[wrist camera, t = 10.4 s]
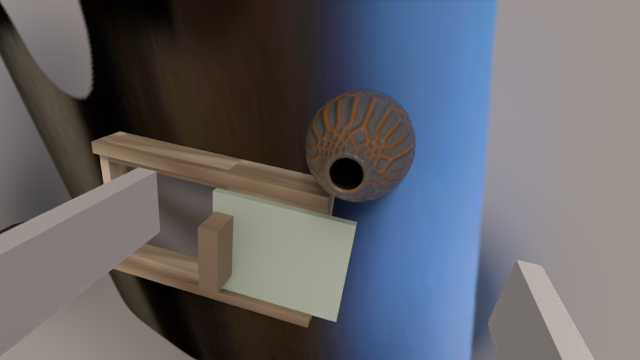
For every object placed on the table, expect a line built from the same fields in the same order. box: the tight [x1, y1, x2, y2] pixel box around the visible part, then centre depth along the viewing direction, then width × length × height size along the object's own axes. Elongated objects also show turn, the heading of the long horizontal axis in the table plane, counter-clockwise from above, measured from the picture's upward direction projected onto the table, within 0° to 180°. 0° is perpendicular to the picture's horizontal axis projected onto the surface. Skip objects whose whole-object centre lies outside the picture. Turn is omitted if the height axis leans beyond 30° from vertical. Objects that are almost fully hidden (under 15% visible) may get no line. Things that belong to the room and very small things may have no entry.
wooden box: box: [91, 132, 335, 328], centre depth 31 cm, size 13×20×3 cm, turn 82°
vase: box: [305, 89, 415, 202], centre depth 22 cm, size 7×7×9 cm
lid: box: [198, 188, 357, 322], centre depth 27 cm, size 10×11×3 cm
